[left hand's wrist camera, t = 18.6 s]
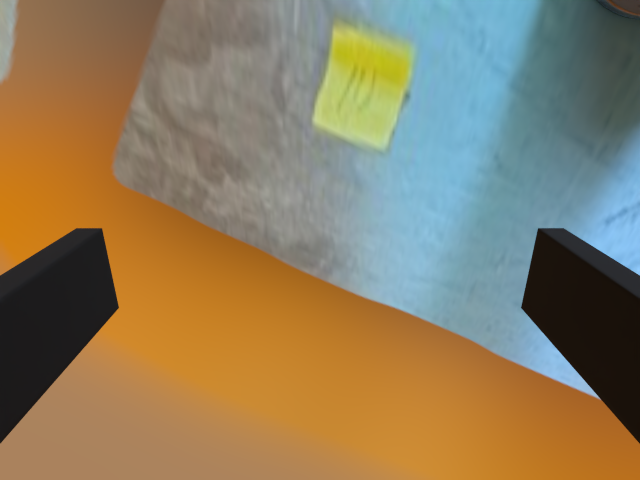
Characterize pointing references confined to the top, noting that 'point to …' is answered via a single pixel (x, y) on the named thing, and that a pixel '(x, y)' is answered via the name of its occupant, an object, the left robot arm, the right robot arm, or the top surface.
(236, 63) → the top surface
